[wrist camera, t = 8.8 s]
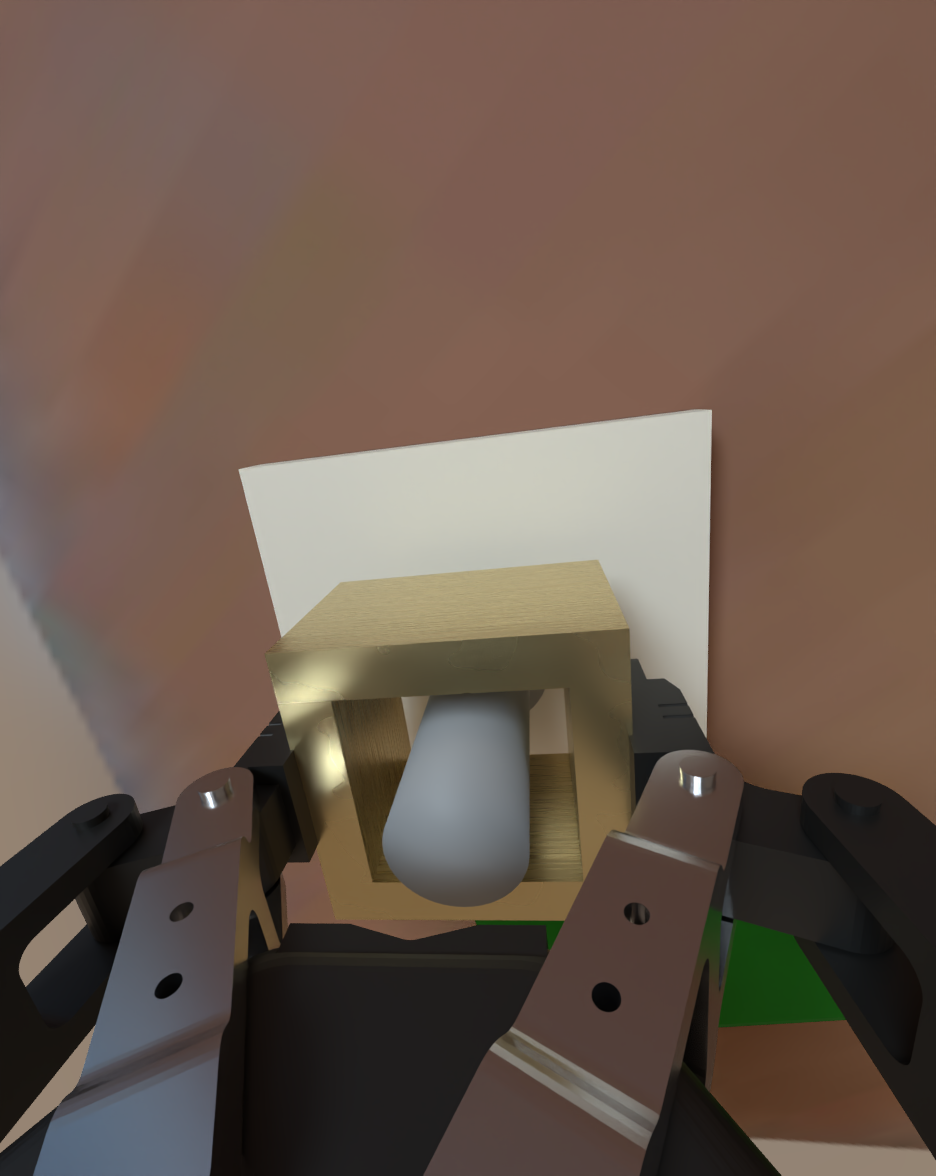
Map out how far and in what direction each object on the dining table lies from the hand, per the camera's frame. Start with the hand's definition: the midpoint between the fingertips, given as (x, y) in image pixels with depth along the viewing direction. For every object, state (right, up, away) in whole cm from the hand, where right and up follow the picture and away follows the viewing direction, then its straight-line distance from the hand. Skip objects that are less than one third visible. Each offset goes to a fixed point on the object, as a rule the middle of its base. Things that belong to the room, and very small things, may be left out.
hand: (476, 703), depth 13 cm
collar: (0, 0, +1) cm, 1 cm away
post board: (0, +1, +4) cm, 4 cm away
